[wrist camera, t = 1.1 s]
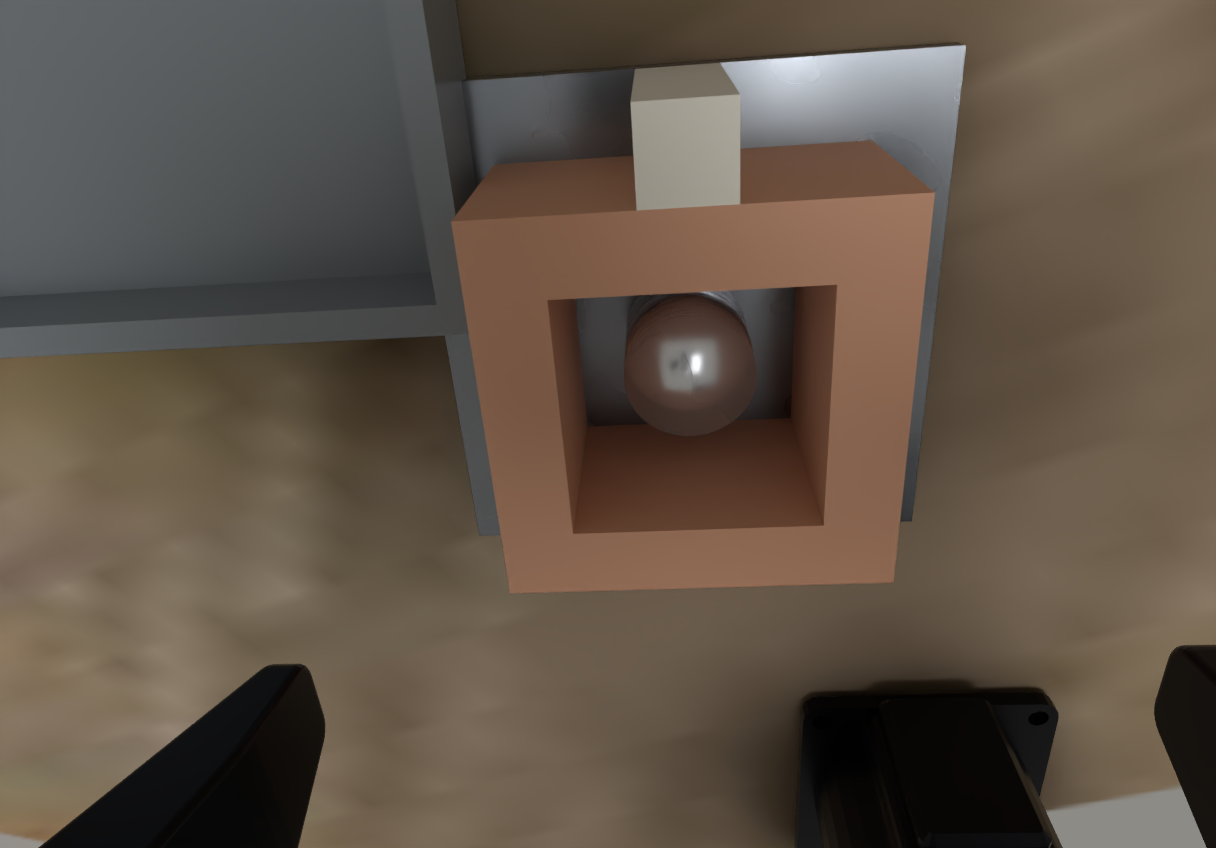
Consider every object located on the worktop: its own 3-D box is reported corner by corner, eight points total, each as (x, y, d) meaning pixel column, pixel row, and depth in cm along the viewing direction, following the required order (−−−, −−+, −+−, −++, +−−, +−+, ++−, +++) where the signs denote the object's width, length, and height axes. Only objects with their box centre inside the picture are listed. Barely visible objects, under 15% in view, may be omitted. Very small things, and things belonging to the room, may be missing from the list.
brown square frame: (849, 467, 19) (893, 582, 16) (535, 479, 20) (510, 593, 16) (878, 51, 15) (947, 80, 12) (482, 80, 16) (434, 115, 12)
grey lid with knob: (906, 508, 20) (943, 588, 18) (483, 523, 21) (459, 601, 18) (957, 42, 15) (1017, 59, 13) (408, 82, 16) (362, 105, 14)
